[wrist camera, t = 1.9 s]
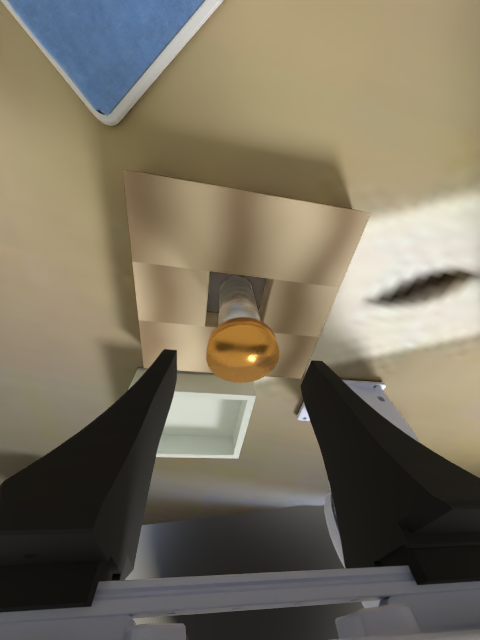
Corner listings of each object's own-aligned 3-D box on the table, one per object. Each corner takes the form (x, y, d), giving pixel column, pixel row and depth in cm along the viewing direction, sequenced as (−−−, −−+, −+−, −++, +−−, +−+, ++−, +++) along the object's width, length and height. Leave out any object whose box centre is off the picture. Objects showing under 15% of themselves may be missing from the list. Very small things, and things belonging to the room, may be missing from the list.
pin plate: (352, 209, 17) (371, 213, 15) (295, 362, 25) (301, 378, 23) (137, 171, 15) (122, 169, 13) (150, 351, 23) (143, 368, 21)
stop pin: (263, 272, 19) (287, 330, 12) (254, 313, 22) (270, 384, 14) (215, 266, 19) (209, 323, 11) (211, 308, 21) (203, 380, 13)
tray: (252, 375, 26) (255, 395, 24) (237, 436, 33) (238, 458, 30) (138, 367, 24) (128, 388, 22) (146, 434, 31) (139, 456, 29)
